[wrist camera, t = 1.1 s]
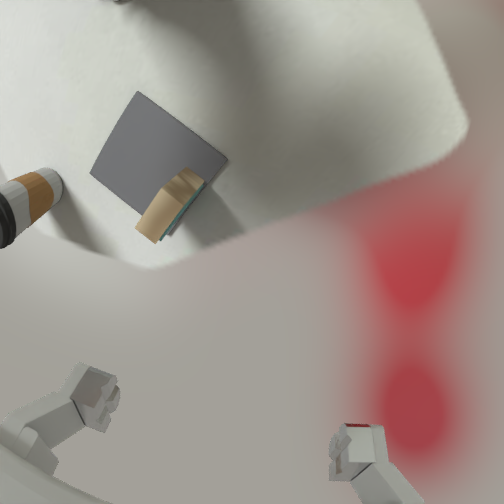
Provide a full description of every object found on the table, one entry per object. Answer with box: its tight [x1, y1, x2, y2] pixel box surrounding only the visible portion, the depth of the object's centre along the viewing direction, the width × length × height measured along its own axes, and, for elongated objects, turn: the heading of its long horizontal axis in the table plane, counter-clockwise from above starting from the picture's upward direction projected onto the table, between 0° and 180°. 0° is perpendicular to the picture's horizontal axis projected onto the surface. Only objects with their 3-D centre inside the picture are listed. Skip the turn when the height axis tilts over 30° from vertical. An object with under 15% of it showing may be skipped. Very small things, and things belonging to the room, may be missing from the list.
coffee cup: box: [0, 168, 63, 249], centre depth 36 cm, size 8×8×15 cm
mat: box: [90, 91, 227, 235], centre depth 40 cm, size 15×14×1 cm
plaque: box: [135, 167, 205, 244], centre depth 37 cm, size 3×6×9 cm, turn 140°
